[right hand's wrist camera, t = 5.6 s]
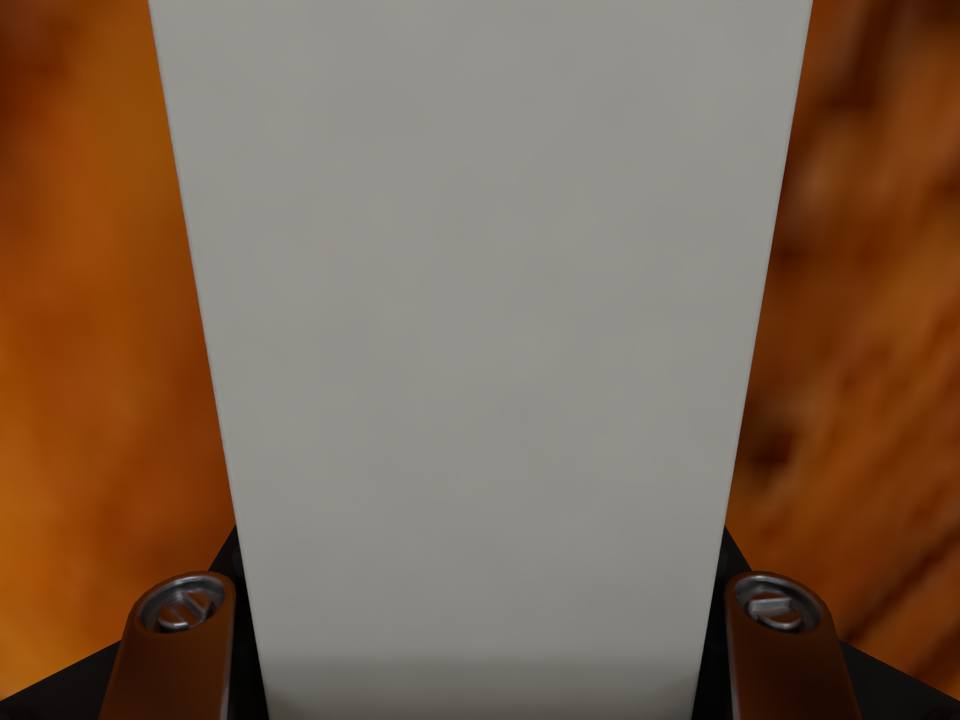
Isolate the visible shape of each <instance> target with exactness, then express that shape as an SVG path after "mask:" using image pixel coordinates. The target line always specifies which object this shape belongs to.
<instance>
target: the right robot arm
mask: <svg viewBox="0 0 960 720" xmlns="http://www.w3.org/2000/svg"><path fill="white" fill-rule="evenodd" d="M0 720H269V715H268V709H267V703H266V697H265V691H264V685H263V680H262V674H261V668H260V662H259V656H258V650H257V644H256V638H255V632H254V626H253V620H252V614H251V608H250V603H249V597H248V591H247V585H246V579H245V573H244V567H243V561H242V555H241V549H240V543H239V537H238V531H237V525H235V527H234V528H233V530H232V532H231V533H230V535H229V537H228V538H227V540H226V542H225V543H224V545H223V547H222V548H221V550H220V552H219V553H218V555H217V557H216V558H215V560H214V562H213V563H212V565H211V567H210V568H209V570H208V571H195V572H188V573H184V574H180V575H177V576H173V577H171V578H169V579H167V580H165V581H162V582H160V583H158V584H157V585H155V586H154V587H152V588H151V589H149V590H148V591H147V592H145V593H144V594H143V595H142V596H141V597H140V598H139V599H138V600H137V601H136V602H135V604H134V606H133V607H132V609H131V611H130V613H129V616H128V619H127V622H126V626H125V629H124V632H123V636H122V639H121V640H120V641H118V642H116V643H114V644H112V645H110V646H108V647H106V648H104V649H102V650H100V651H98V652H96V653H94V654H92V655H90V656H88V657H86V658H84V659H82V660H80V661H79V662H77V663H75V664H73V665H71V666H69V667H67V668H65V669H63V670H61V671H59V672H57V673H55V674H53V675H51V676H49V677H47V678H45V679H43V680H41V681H39V682H37V683H35V684H33V685H31V686H29V687H27V688H25V689H23V690H21V691H19V692H17V693H15V694H14V695H12V696H10V697H8V698H6V699H4V700H2V701H0ZM691 720H960V701H958V700H956V699H954V698H952V697H950V696H948V695H946V694H945V693H943V692H941V691H939V690H937V689H935V688H933V687H931V686H929V685H927V684H925V683H923V682H921V681H919V680H917V679H915V678H913V677H911V676H909V675H907V674H905V673H903V672H901V671H899V670H897V669H895V668H893V667H891V666H889V665H887V664H885V663H883V662H881V661H879V660H878V659H876V658H874V657H872V656H870V655H868V654H866V653H864V652H862V651H860V650H858V649H856V648H854V647H852V646H850V645H848V644H846V643H844V642H842V641H840V640H839V639H838V636H837V632H836V629H835V626H834V622H833V619H832V616H831V613H830V611H829V609H828V607H827V606H826V604H825V602H824V601H823V600H822V599H821V598H820V597H819V596H818V595H817V594H816V593H815V592H813V591H812V590H811V589H809V588H808V587H806V586H805V585H803V584H802V583H800V582H798V581H795V580H793V579H791V578H789V577H787V576H783V575H780V574H776V573H772V572H765V571H752V570H751V568H750V567H749V565H748V563H747V562H746V560H745V558H744V557H743V555H742V553H741V552H740V550H739V548H738V547H737V545H736V543H735V542H734V540H733V538H732V537H731V535H730V533H729V532H728V530H727V528H726V527H725V525H724V529H723V534H722V540H721V546H720V552H719V558H718V564H717V570H716V576H715V582H714V588H713V594H712V599H711V605H710V611H709V617H708V623H707V629H706V635H705V641H704V647H703V653H702V659H701V665H700V670H699V676H698V682H697V688H696V694H695V700H694V706H693V712H692V718H691Z"/></svg>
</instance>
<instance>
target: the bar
mask: <svg viewBox="0 0 960 720" xmlns="http://www.w3.org/2000/svg"><path fill="white" fill-rule="evenodd" d="M812 2H813V0H148V4H149V10H150V16H151V22H152V28H153V34H154V39H155V45H156V51H157V57H158V63H159V69H160V75H161V81H162V87H163V93H164V99H165V105H166V111H167V117H168V122H169V128H170V134H171V140H172V146H173V152H174V158H175V164H176V170H177V176H178V182H179V188H180V194H181V200H182V205H183V211H184V217H185V223H186V229H187V235H188V241H189V247H190V253H191V259H192V265H193V271H194V277H195V282H196V288H197V294H198V300H199V306H200V312H201V318H202V324H203V330H204V336H205V342H206V348H207V354H208V360H209V365H210V371H211V377H212V383H213V389H214V395H215V401H216V407H217V413H218V419H219V425H220V431H221V437H222V442H223V448H224V454H225V460H226V466H227V472H228V478H229V484H230V490H231V496H232V502H233V508H234V514H235V520H236V525H237V531H238V537H239V543H240V549H241V555H242V561H243V567H244V573H245V579H246V585H247V591H248V597H249V603H250V608H251V614H252V620H253V626H254V632H255V638H256V644H257V650H258V656H259V662H260V668H261V674H262V680H263V685H264V691H265V697H266V703H267V709H268V715H269V720H691V718H692V712H693V706H694V700H695V694H696V688H697V682H698V676H699V670H700V665H701V659H702V653H703V647H704V641H705V635H706V629H707V623H708V617H709V611H710V605H711V599H712V594H713V588H714V582H715V576H716V570H717V564H718V558H719V552H720V546H721V540H722V534H723V529H724V523H725V517H726V511H727V505H728V499H729V493H730V487H731V481H732V475H733V469H734V463H735V458H736V452H737V446H738V440H739V434H740V428H741V422H742V416H743V410H744V404H745V398H746V393H747V387H748V381H749V375H750V369H751V363H752V357H753V351H754V345H755V339H756V333H757V327H758V322H759V316H760V310H761V304H762V298H763V292H764V286H765V280H766V274H767V268H768V262H769V256H770V251H771V245H772V239H773V233H774V227H775V221H776V215H777V209H778V203H779V197H780V191H781V186H782V180H783V174H784V168H785V162H786V156H787V150H788V144H789V138H790V132H791V126H792V120H793V115H794V109H795V103H796V97H797V91H798V85H799V79H800V73H801V67H802V61H803V55H804V49H805V44H806V38H807V32H808V26H809V20H810V14H811V8H812Z"/></svg>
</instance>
